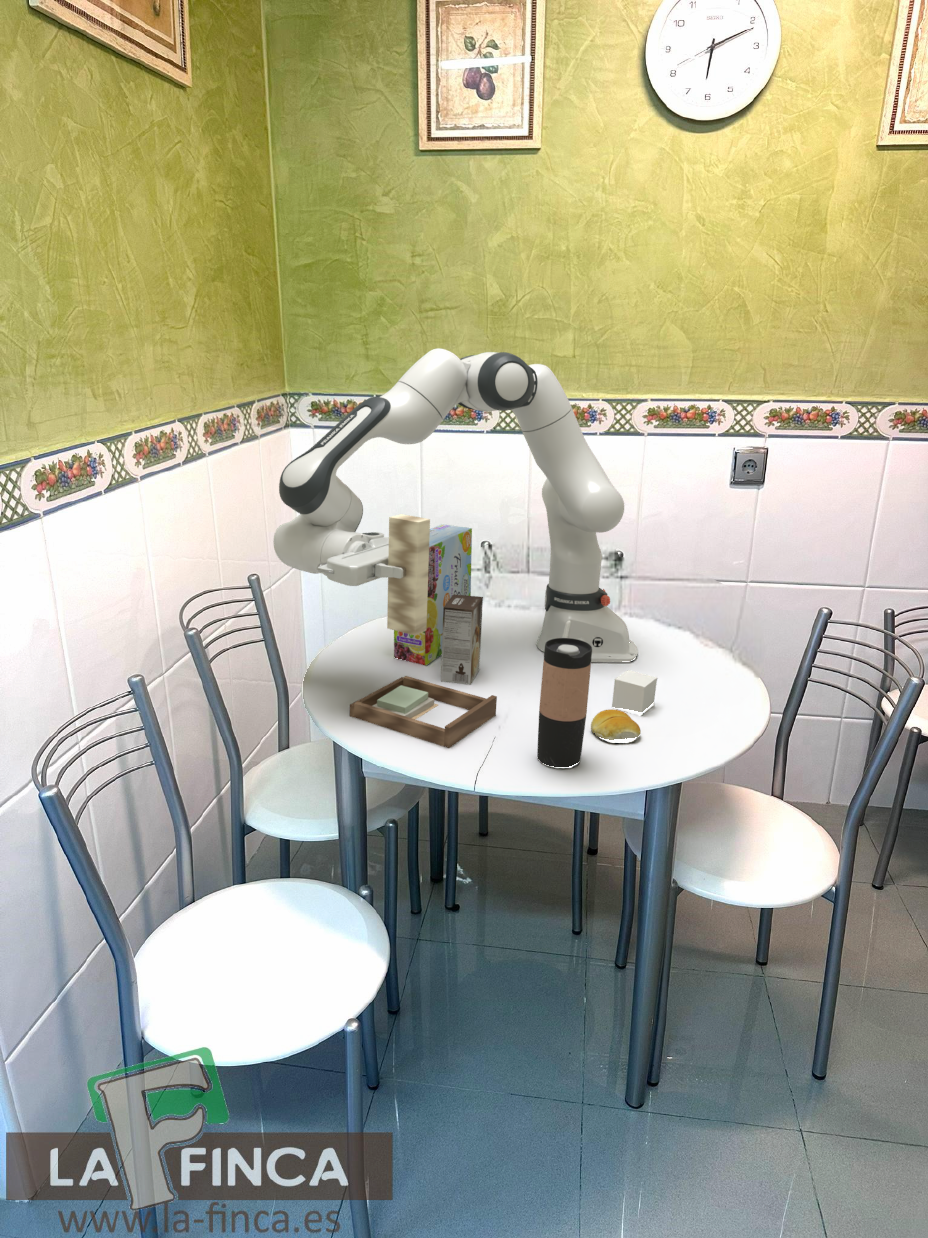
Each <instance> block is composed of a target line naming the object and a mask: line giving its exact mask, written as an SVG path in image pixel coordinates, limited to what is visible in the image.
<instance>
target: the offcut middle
mask: <svg viewBox="0 0 928 1238" xmlns="http://www.w3.org/2000/svg"><path fill="white" fill-rule="evenodd" d="M434 703H435V700H434V699H432V698H429V697H428V699H426V700H425V701H423V702H422V703H421V704H419V705H418V706H416V707H415V708H413V709H412V710H410V711H409V712H407V713H406V714H404V713H400V712H397V711H393V710H389V709H386V708H382V707H378V706H377V704H375V705H373V706H374V707H377V708H380V709H383V710H386V711H390V712H393V713H396V714H399V715H402V716H406V717H409V718H413V717H414V716H416V715H418V714H420V713H421V712H423V711H425V710H427V709H428V708H430V707H432V706H433V705H434Z"/></svg>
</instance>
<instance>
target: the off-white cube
mask: <svg viewBox="0 0 928 1238" xmlns="http://www.w3.org/2000/svg"><path fill="white" fill-rule="evenodd" d="M657 681H658V677H657V676H653V675H648V674H646V673H641V672H638V671H634V670H631V669H630V670H629V669H627V670H626V671H624V672H623V673H621V674H620V675H618V676H617V677H615V679H614V685H613V693H612V694H613V695H612V703H611V708H612V707H615V708H623V709H629V710H634V711H638V712H643V711H644V710H645V709H646V708H648V707H649V706H650V705H651V704H652V703H653V702H654V703H655V697H656V690H657Z"/></svg>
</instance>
